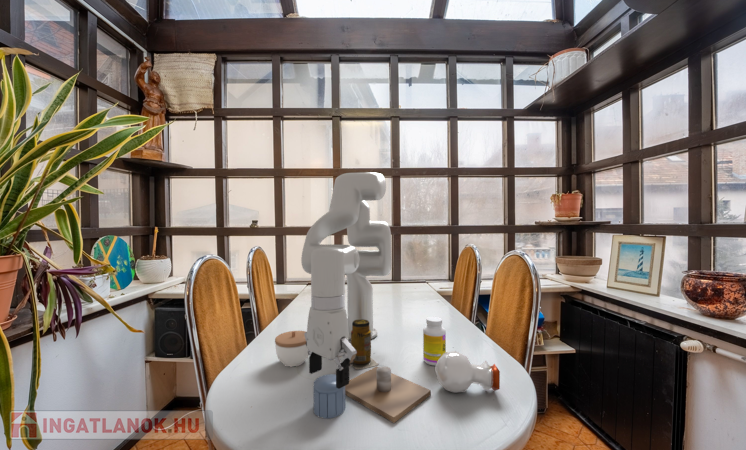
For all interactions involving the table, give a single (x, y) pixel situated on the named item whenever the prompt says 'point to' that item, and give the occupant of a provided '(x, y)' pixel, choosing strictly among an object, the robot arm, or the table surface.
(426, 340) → the supplement bottle
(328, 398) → the cap
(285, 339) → the lidded jar
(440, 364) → the potion bottle
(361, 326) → the condiment
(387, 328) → the table surface
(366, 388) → the post base
